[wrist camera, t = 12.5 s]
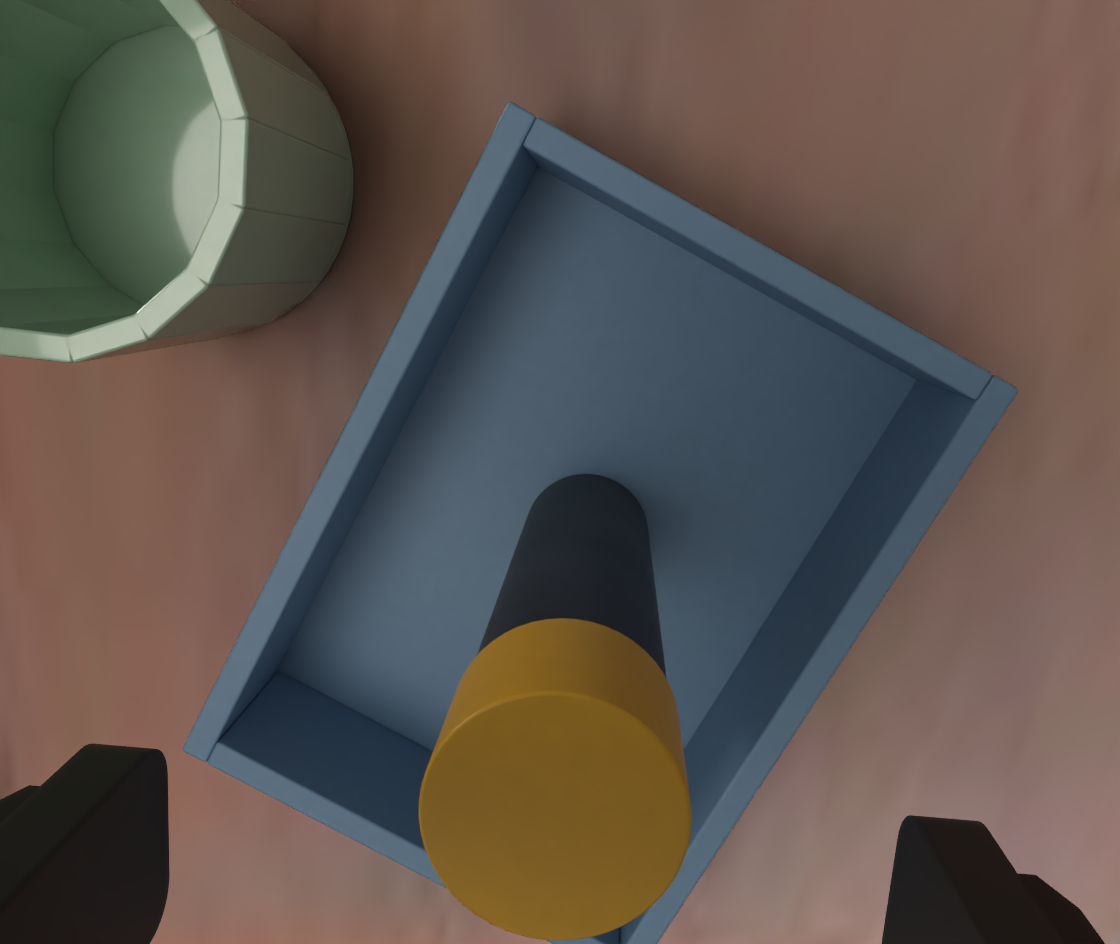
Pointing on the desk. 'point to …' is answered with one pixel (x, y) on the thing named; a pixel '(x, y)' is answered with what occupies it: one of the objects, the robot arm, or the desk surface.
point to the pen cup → (158, 176)
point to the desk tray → (607, 450)
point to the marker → (564, 733)
